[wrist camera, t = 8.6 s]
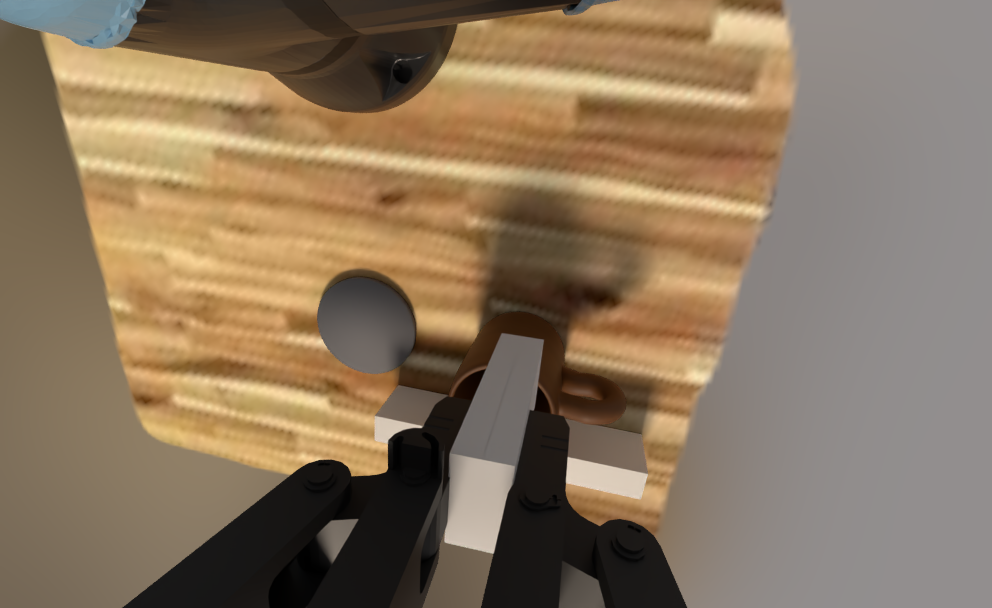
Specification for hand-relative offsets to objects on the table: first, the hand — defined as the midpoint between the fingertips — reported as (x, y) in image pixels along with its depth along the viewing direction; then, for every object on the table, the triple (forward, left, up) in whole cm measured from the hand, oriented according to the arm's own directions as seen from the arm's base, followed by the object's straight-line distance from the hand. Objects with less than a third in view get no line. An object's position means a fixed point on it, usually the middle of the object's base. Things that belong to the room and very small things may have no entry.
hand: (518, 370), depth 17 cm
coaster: (+10, -15, -20) cm, 27 cm away
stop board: (+17, -1, -20) cm, 26 cm away
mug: (+9, +1, -21) cm, 23 cm away
